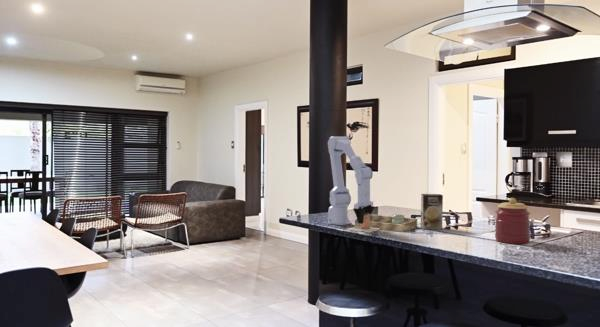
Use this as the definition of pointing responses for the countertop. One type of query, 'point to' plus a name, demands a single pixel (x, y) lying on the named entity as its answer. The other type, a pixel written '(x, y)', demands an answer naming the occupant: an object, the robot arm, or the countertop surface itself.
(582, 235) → the countertop surface
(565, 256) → the countertop surface
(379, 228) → the ceramic tile
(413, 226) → the compartment tray
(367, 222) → the terracotta pot
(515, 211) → the canister
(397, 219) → the sage pot
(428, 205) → the coffee box
